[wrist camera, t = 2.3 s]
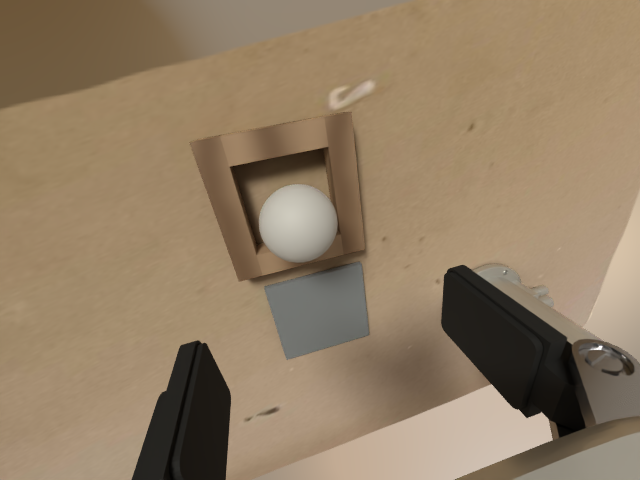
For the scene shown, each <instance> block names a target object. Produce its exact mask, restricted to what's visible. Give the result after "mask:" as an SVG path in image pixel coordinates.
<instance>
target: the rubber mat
mask: <svg viewBox="0 0 640 480" xmlns="http://www.w3.org/2000/svg"><path fill="white" fill-rule="evenodd" d="M264 287H265V292H266V295H267V299H268V302H269V305H270V308H271V311H272V315H273V318H274V321H275V324H276V327H277V331H278V334H279V337H280V340H281V343H282V347H283V350H284V353H285V356H286V359H287V360H288V359H291V358H294V357H298V356H301V355H304V354H308V353H311V352H315V351H318V350H321V349H325V348H328V347H331V346H335V345H338V344H341V343H345V342H348V341H351V340H355V339H358V338H361V337H365V336H368V335H369V328H368V319H367V310H366V300H365V291H364V282H363V273H362V264H361V262H356V263H352V264H348V265H345V266H341V267H337V268H333V269H329V270H325V271H322V272H318V273H314V274H310V275H306V276H303V277H299V278H295V279H291V280H287V281H283V282H280V283H276V284H272V285H268V286H264Z"/></svg>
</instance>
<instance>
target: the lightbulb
mask: <svg viewBox="0 0 640 480" xmlns="http://www.w3.org/2000/svg"><path fill="white" fill-rule="evenodd" d="M337 225H338V221H337V214H336V211H335V208H334V206H333V204H332V202H331V201H330V200H329V198H328V197H327V196H326V195H325V194H324V193H323V192H321V191H320V190H318V189H317V188H314V187H312V186H308V185H304V184H293V185H288V186H285V187H282V188H280V189H278V190H277V191H275V192H274V193H273V194H272V195H271V196H270V197H269V198H268V199H267V200H266V202H265V203H264V205H263V207H262V209H261V212H260V217H259V230H260V234H261V237H262V239H263V241H264V243H265V245H266V246H267V247H268V249H269V250H270V251H271V252H272V253H274V254H275V255H276V256H278V257H279V258H281V259H283V260H286V261H289V262H296V263H300V262H307V261H311V260H313V259H316V258H318V257H319V256H321V255H322V254H324V253H325V252H326V251H327V250H328V249H329V247H330V246H331V245H332V243H333V241H334V239H335V236H336V232H337Z"/></svg>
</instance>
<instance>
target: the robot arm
mask: <svg viewBox="0 0 640 480" xmlns="http://www.w3.org/2000/svg"><path fill="white" fill-rule="evenodd" d="M545 294H548V288H547V287H546V286H544V285H540V286H537V287H534V288H532V289H530V288H528V287H527V286H525V285H524V284H522V283H521V279H520V277H519V275H518V274H517V273H516V272H515V271H514V270H513V269H511V268H509V267H508V266H505V265H502V264H488V265H485V266H481V267H479V268H477V269H474V270H471V269H469V268H468V267H467V266H465V265H460V266H457V267H453V268H450V269H448V270H447V273H446V274H445V275H444V287H443V304H442V320H441V324H442V328H443V330H444V331H445V333H446V334H447V335H448V336H449V337H450V338H451V339H452V340H453V341H454V343H455V344H456V345H457V346H458V347H459V348H460V349H461V350H462V352H463V353H464V354H465V355H466V356H467V357H468V358H469V359H470V360H471V362H472V363H473V364H474V365H475V366H476V367H477V368H478V369H479V371H480V372H481V373H482V374H483V375H484V376H485V377H486V378H487V379H488V381H489V382H490V383H491V384H492V385H493V386H494V387H495V388H496V389H497V390H498V392H499V393H500V394H501V395H502V396H503V397H504V398H505V400H506V401H507V402H508V403H509V404H510V405H511V406H512V407H513V408H515V409H519V410H520V411H521V412H522V413H523V414H524V416H525V417H526V418H528V417H531V416H534V415H536V414H539V413H541V412H542V413H543V414H544V415H545V416H546V417H547V418H548V419H549V423H550V428H551V432H552V438H553V441H550V442H548V443H545V444H542V445H540V446H537V447H535V448H532V449H530V450H528V451H525V452H523V453H520V454H517V455H515V456H512V457H510V458H507V459H505V460H502V461H500V462H497V463H495V464H492V465H490V466H487V467H485V468H482V469H480V470H477V471H475V472H472V473H470V474H467V475H465V476H462V477H460V478H457V479H455V480H640V364H639V362H638V361H637V360H636V359H635V358H634V357H633V356H632V355H630V354H629V353H628V352H626V351H624V350H622V349H621V348H619V347H617V346H615V345H612V344H610V343H607V342H604V341H603V340H601V339H600V338H598V337H597V336H595V335H593V334H592V333H590V332H589V331H587V330H586V329H584V328H582V327H581V326H579V325H578V324H576V323H575V322H573V321H572V320H570V319H568V318H567V317H565V316H564V315H562V314H561V313H559V312H558V311H556V310H554V309H553V308H551V307H553V305H554V302H553V300H552V298H551V297H549V296H548V295H545ZM230 407H231V395H230V391H229V388H228V386H227V384H226V382H225V380H224V378H223V376H222V374H221V372H220V370H219V368H218V366H217V364H216V362H215V360H214V358H213V356H212V354H211V352H210V350H209V348H208V346H207V344H206V343H203V344H201V342H200V341H194V342H191V343H187V344H184V345H181V346H180V348H179V351H178V354H177V357H176V361H175V364H174V367H173V371H172V374H171V377H170V380H169V384H168V387H167V390H166V391H165V392H162V394H161V395H160V396H159V398H158V401H157V403H156V407H155V410H154V413H153V416H152V419H151V422H150V425H149V428H148V431H147V434H146V437H145V440H144V443H143V447H142V450H141V453H140V456H139V459H138V462H137V465H136V468H135V471H134V474H133V477H132V480H226V465H227V451H228V436H229V421H230Z"/></svg>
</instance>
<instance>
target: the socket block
mask: <svg viewBox="0 0 640 480" xmlns="http://www.w3.org/2000/svg"><path fill="white" fill-rule="evenodd" d="M189 143H190V146H191V149H192V151H193V154H194V157H195V160H196V162H197V165H198V168H199V171H200V174H201V176H202V179H203V182H204V185H205V188H206V190H207V193H208V196H209V199H210V202H211V204H212V207H213V210H214V213H215V216H216V218H217V221H218V224H219V227H220V229H221V232H222V235H223V238H224V241H225V243H226V246H227V249H228V252H229V255H230V257H231V260H232V263H233V266H234V269H235V271H236V274H237V277H238V280H239V282H240V281H243V280H247V279H251V278H255V277H259V276H263V275H267V274H271V273H275V272H279V271H283V270H286V269H290V268H294V267H298V266H302V265H306V264H310V263H314V262H318V261H322V260H325V259H329V258H333V257H337V256H341V255H345V254H349V253H353V252H357V251H361V250H365V243H364V233H363V223H362V213H361V203H360V193H359V183H358V173H357V163H356V152H355V142H354V132H353V122H352V112H342V113H337V114H332V115H326V116H321V117H316V118H310V119H305V120H299V121H294V122H289V123H283V124H278V125H273V126H267V127H262V128H256V129H251V130H246V131H240V132H235V133H230V134H224V135H219V136H214V137H208V138H203V139H197V140H194V141H191V142H189ZM319 148H323V152H324V159H325V165H326V172H327V179H328V185H329V192H330V199H331V202H332V204H333V206H334V208H335V211H336V214H337V221H338V225H337V232H336V236H335V239H334V241H333V243H332V245H331V246H330V247H329V249H328V250H327V251H326V252H325V253H324V254H322V255H321V256H319V257H318V258H316V259H313V260H311V261H307V262H300V263H296V262H289V261H286V260H283V259H281V258H279V257H278V256H276V255H275V254H274V253H272V252H271V251H270V250H269V249H268V247H267V246H266V245H265V243H262V244H258V245H256V242H255V239H254V235H253V232H252V229H251V225H250V222H249V219H248V215H247V212H246V209H245V205H244V202H243V199H242V195H241V192H240V189H239V185H238V182H237V179H236V176H235V172H234V169H233V166H235V165H240V164H245V163H250V162H255V161H260V160H265V159H270V158H275V157H280V156H285V155H290V154H295V153H300V152H304V151H309V150H314V149H319Z"/></svg>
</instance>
